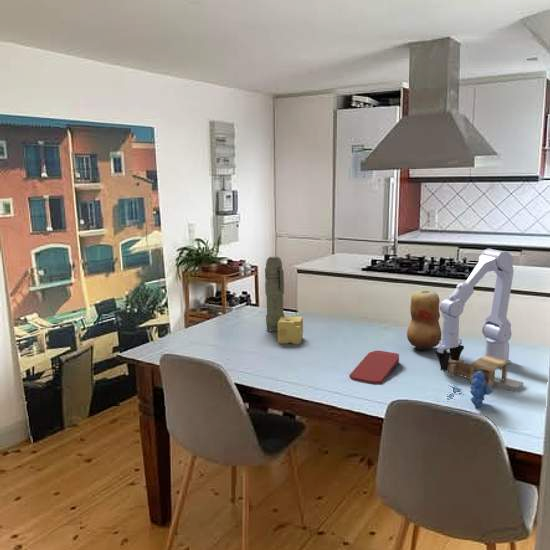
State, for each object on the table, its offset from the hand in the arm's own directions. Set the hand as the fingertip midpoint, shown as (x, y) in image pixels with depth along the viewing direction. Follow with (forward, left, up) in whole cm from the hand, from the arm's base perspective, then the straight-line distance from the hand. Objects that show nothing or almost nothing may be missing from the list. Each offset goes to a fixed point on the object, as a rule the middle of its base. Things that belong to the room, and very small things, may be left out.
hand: (449, 366), depth 200 cm
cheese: (+14, -70, -2) cm, 71 cm away
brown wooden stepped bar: (0, +7, -2) cm, 7 cm away
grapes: (+22, +23, -2) cm, 32 cm away
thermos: (+6, -88, -2) cm, 88 cm away
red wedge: (+18, -20, -2) cm, 27 cm away
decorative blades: (+20, +11, -2) cm, 23 cm away
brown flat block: (0, +23, -2) cm, 23 cm away
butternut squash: (-16, -20, -2) cm, 25 cm away
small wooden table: (0, +15, -1) cm, 15 cm away
